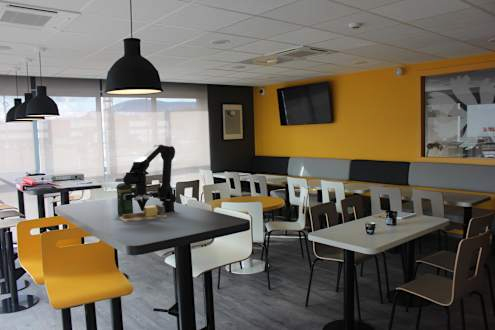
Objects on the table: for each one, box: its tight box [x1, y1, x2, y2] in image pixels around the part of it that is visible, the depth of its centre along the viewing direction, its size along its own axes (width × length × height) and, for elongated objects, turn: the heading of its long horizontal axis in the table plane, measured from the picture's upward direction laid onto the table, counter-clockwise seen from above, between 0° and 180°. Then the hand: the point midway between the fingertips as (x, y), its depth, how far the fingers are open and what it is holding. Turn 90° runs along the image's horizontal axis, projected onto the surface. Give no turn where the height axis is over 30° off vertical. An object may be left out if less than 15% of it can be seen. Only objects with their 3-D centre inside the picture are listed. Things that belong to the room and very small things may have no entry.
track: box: [119, 203, 167, 223], centre depth 221 cm, size 23×12×6 cm, turn 119°
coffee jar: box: [116, 182, 134, 216], centre depth 235 cm, size 10×8×19 cm
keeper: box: [142, 205, 157, 216], centre depth 223 cm, size 6×8×4 cm
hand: (142, 211), depth 221 cm, fingers closed
